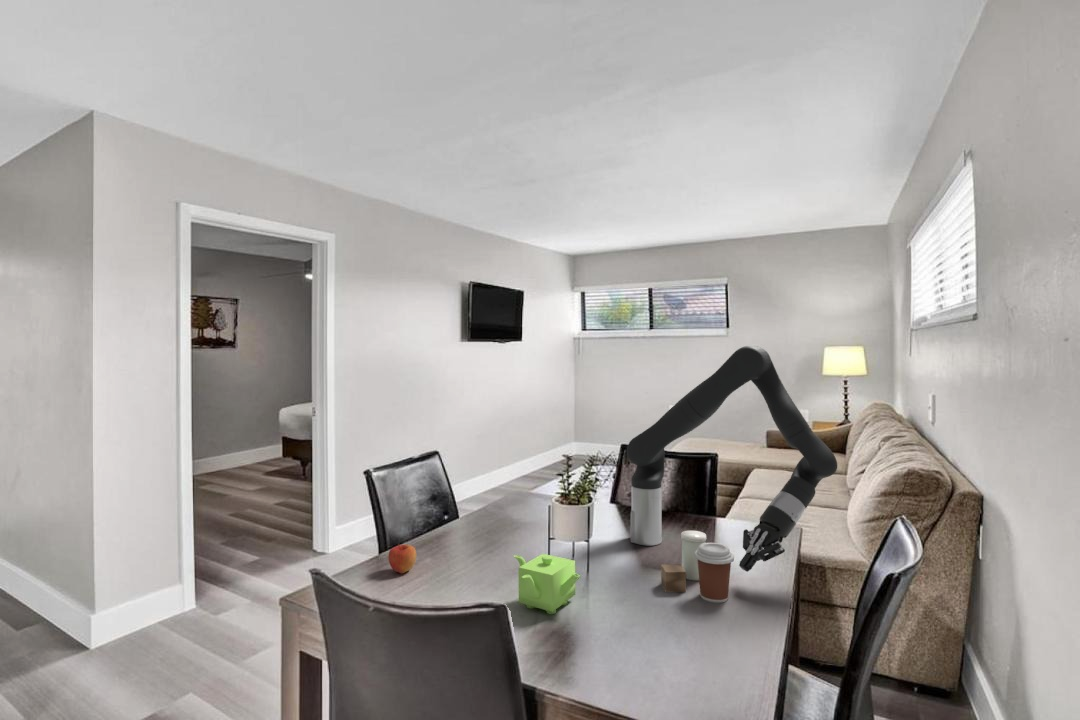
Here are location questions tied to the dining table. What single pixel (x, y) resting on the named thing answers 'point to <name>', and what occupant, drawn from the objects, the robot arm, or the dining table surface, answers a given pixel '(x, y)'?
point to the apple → (402, 558)
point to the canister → (691, 552)
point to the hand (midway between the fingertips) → (743, 568)
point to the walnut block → (673, 578)
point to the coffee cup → (714, 571)
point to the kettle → (546, 582)
